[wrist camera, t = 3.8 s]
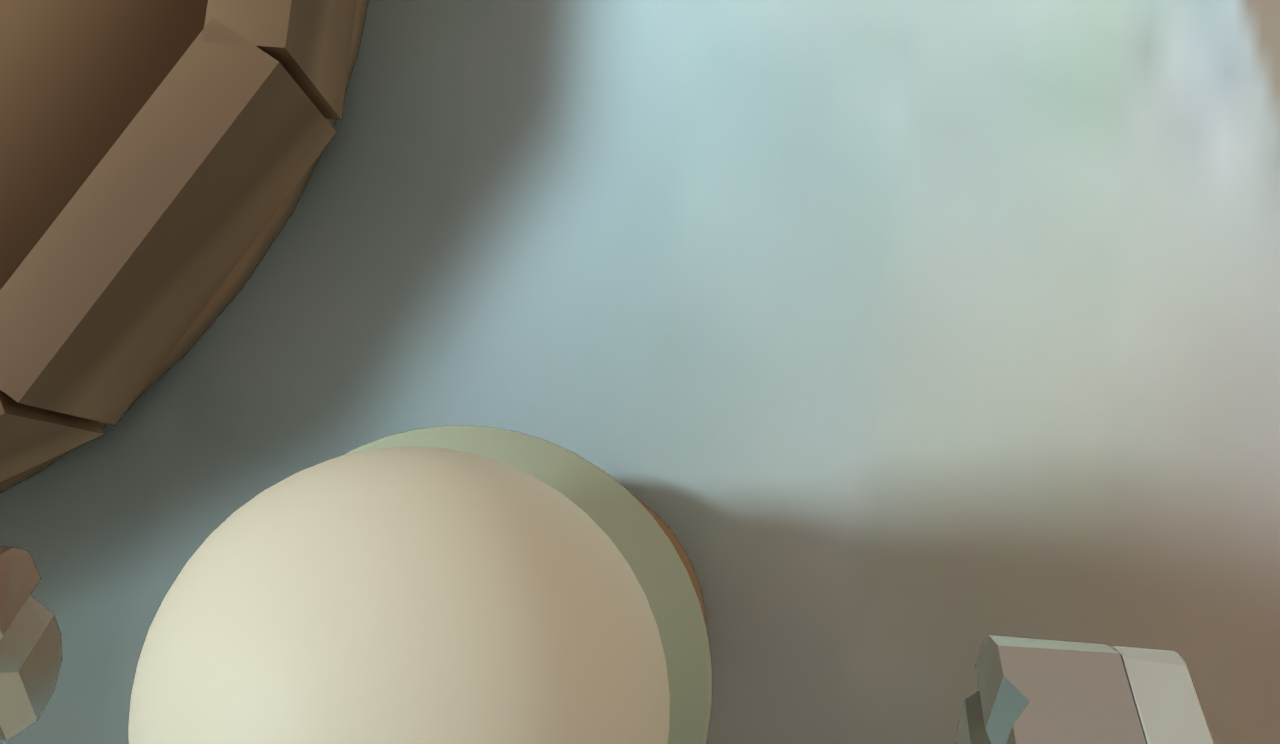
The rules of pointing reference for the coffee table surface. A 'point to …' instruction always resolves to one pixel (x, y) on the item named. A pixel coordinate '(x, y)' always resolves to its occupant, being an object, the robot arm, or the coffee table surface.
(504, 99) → the coffee table surface
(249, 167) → the walnut tray
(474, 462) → the bead column
